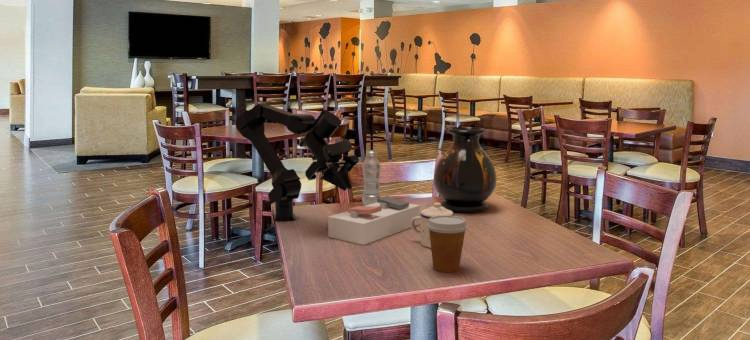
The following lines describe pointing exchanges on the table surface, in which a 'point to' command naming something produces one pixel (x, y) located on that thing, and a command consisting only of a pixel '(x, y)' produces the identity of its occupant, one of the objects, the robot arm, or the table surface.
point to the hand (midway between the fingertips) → (348, 189)
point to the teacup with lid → (425, 216)
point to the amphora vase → (465, 172)
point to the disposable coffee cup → (446, 241)
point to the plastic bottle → (371, 178)
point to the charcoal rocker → (393, 202)
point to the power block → (371, 223)
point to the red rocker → (365, 209)
